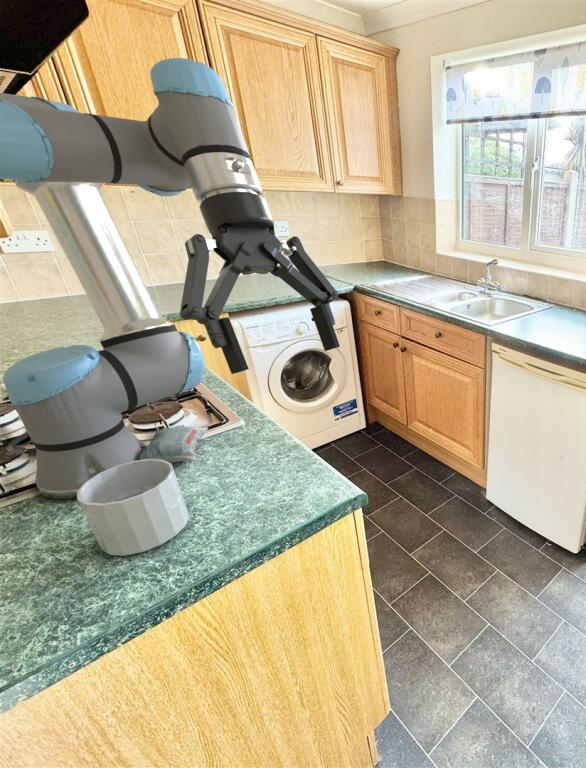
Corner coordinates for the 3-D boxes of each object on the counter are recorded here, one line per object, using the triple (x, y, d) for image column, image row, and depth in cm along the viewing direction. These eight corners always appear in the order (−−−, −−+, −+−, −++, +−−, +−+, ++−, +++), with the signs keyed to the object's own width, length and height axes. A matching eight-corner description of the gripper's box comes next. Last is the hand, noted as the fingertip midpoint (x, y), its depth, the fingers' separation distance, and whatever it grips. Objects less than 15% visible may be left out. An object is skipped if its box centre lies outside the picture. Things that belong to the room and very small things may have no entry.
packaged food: (210, 436, 91) (205, 417, 89) (196, 468, 81) (190, 446, 79) (161, 443, 88) (154, 422, 86) (141, 476, 78) (132, 454, 76)
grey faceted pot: (81, 555, 62) (54, 502, 57) (142, 505, 71) (123, 456, 67) (154, 560, 62) (132, 507, 57) (205, 509, 71) (189, 461, 67)
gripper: (120, 174, 41) (203, 379, 45) (331, 198, 62) (377, 336, 65) (95, 202, 45) (174, 389, 48) (302, 216, 66) (346, 346, 69)
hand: (291, 359), depth 57 cm, fingers open, 13 cm apart
